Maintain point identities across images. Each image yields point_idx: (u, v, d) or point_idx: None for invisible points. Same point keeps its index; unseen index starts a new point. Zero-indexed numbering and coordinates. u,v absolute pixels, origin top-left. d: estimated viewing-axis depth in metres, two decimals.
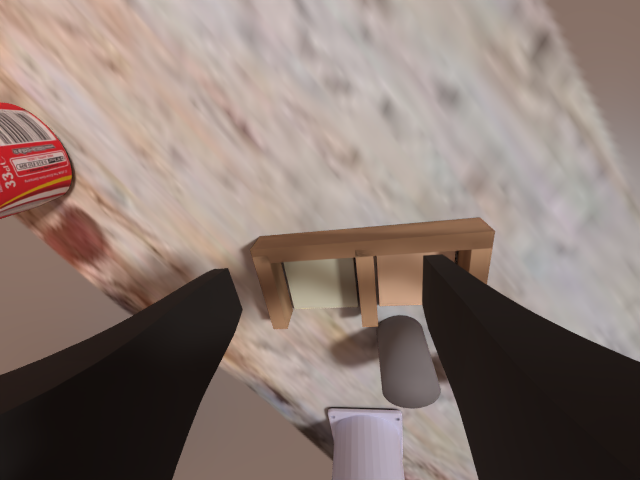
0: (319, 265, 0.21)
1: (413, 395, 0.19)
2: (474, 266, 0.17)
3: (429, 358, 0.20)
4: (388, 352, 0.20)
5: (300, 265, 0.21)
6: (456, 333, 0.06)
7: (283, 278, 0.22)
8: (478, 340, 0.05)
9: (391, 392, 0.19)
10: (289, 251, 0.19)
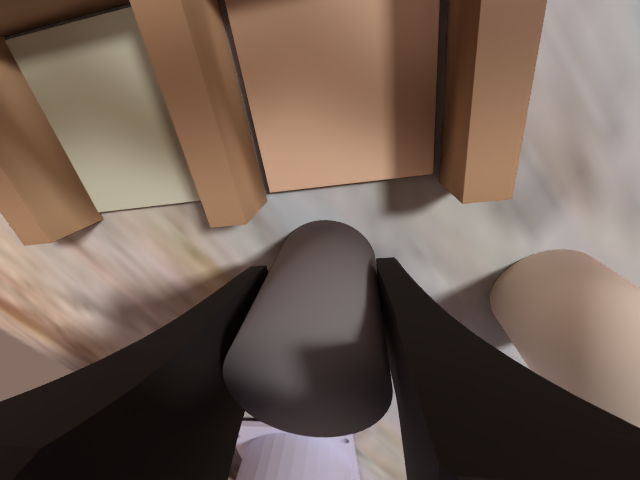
0: (105, 78, 0.09)
1: (315, 401, 0.06)
2: None
3: (369, 298, 0.07)
4: (264, 286, 0.08)
5: (63, 80, 0.09)
6: (391, 334, 0.07)
7: (43, 126, 0.09)
8: (398, 341, 0.05)
9: (254, 394, 0.07)
10: None
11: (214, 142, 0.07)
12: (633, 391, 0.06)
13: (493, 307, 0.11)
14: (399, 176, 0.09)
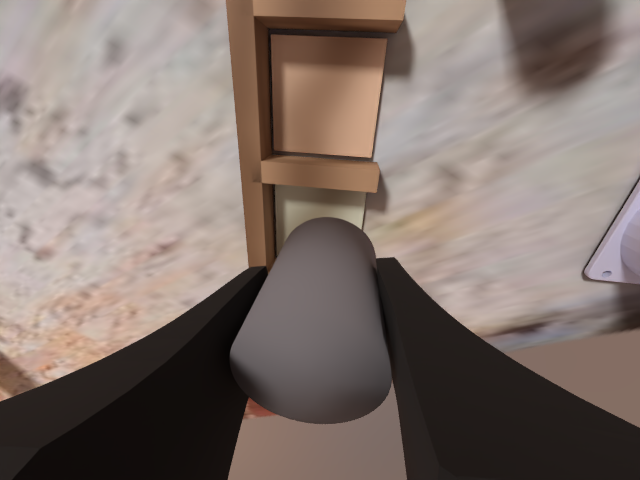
0: (297, 221, 0.18)
1: (319, 387, 0.07)
2: (282, 8, 0.11)
3: (365, 286, 0.07)
4: (265, 282, 0.08)
5: None
6: (391, 333, 0.07)
7: None
8: (398, 341, 0.05)
9: (261, 384, 0.07)
10: (252, 251, 0.17)
11: (333, 171, 0.14)
12: None
13: None
14: (383, 64, 0.13)
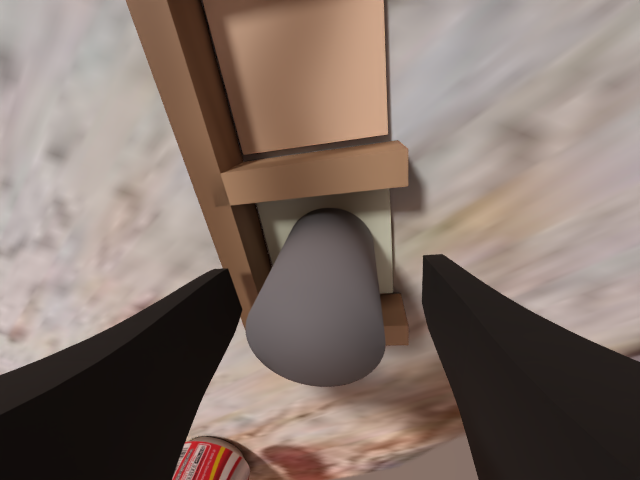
0: None
1: (323, 352, 0.08)
2: None
3: (363, 266, 0.08)
4: (275, 264, 0.09)
5: None
6: (456, 332, 0.06)
7: None
8: (478, 340, 0.05)
9: (272, 350, 0.08)
10: (242, 301, 0.12)
11: (332, 165, 0.09)
12: None
13: None
14: None
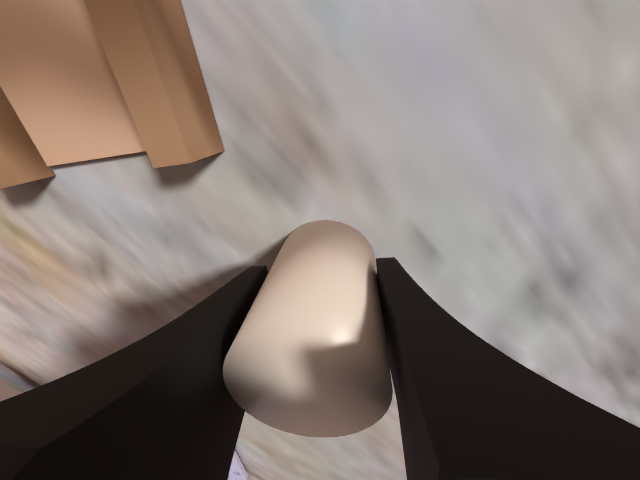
0: None
1: None
2: None
3: None
4: None
5: None
6: (391, 333, 0.07)
7: None
8: (398, 341, 0.05)
9: None
10: None
11: None
12: (239, 331, 0.06)
13: None
14: None
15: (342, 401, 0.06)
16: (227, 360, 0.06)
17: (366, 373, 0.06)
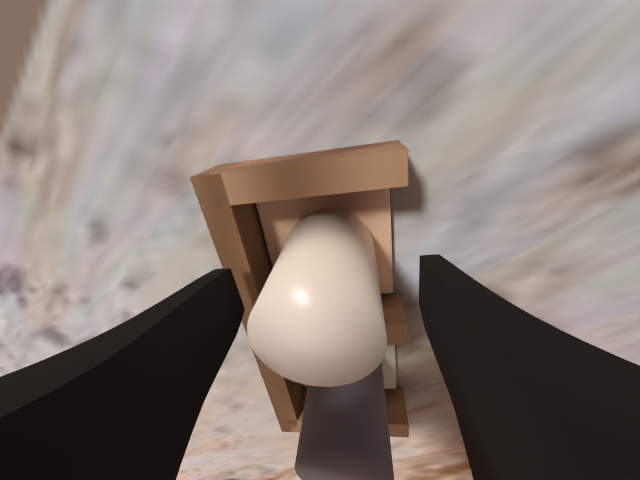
0: None
1: None
2: (261, 195, 0.10)
3: (374, 409, 0.12)
4: (308, 403, 0.12)
5: None
6: (451, 332, 0.07)
7: None
8: (472, 340, 0.05)
9: (314, 477, 0.11)
10: (277, 403, 0.15)
11: None
12: (258, 297, 0.08)
13: None
14: (389, 205, 0.11)
15: (346, 349, 0.08)
16: (250, 321, 0.07)
17: (363, 321, 0.07)
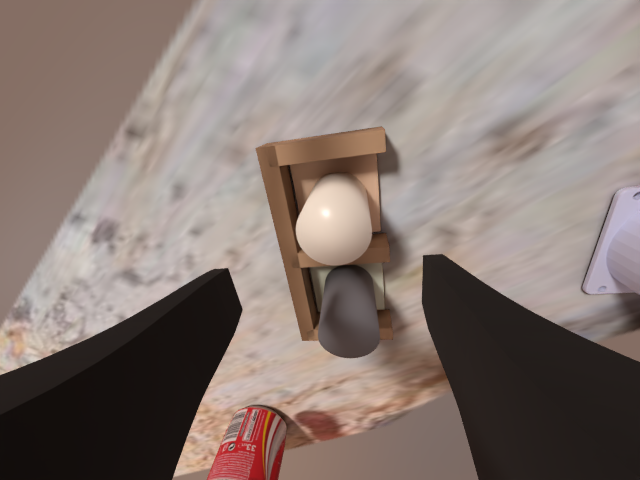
0: None
1: (353, 341, 0.17)
2: (298, 158, 0.16)
3: (367, 299, 0.18)
4: (324, 302, 0.19)
5: None
6: (455, 332, 0.07)
7: None
8: (478, 340, 0.05)
9: (330, 343, 0.18)
10: (300, 315, 0.22)
11: None
12: (302, 210, 0.14)
13: None
14: None
15: (350, 237, 0.14)
16: (298, 221, 0.14)
17: (359, 218, 0.13)
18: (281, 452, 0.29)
